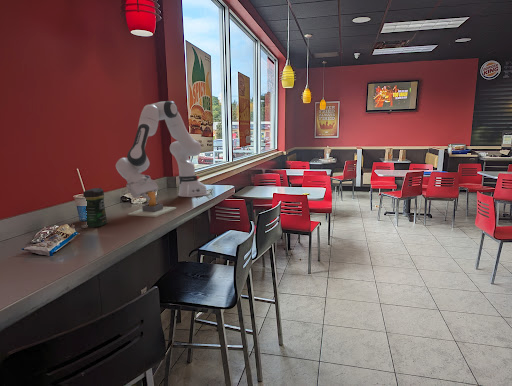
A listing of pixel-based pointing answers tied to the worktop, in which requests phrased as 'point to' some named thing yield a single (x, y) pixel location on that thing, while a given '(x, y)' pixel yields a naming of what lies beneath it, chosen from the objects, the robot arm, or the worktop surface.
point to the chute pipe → (152, 199)
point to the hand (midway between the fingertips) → (152, 198)
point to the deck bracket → (152, 210)
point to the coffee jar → (95, 207)
